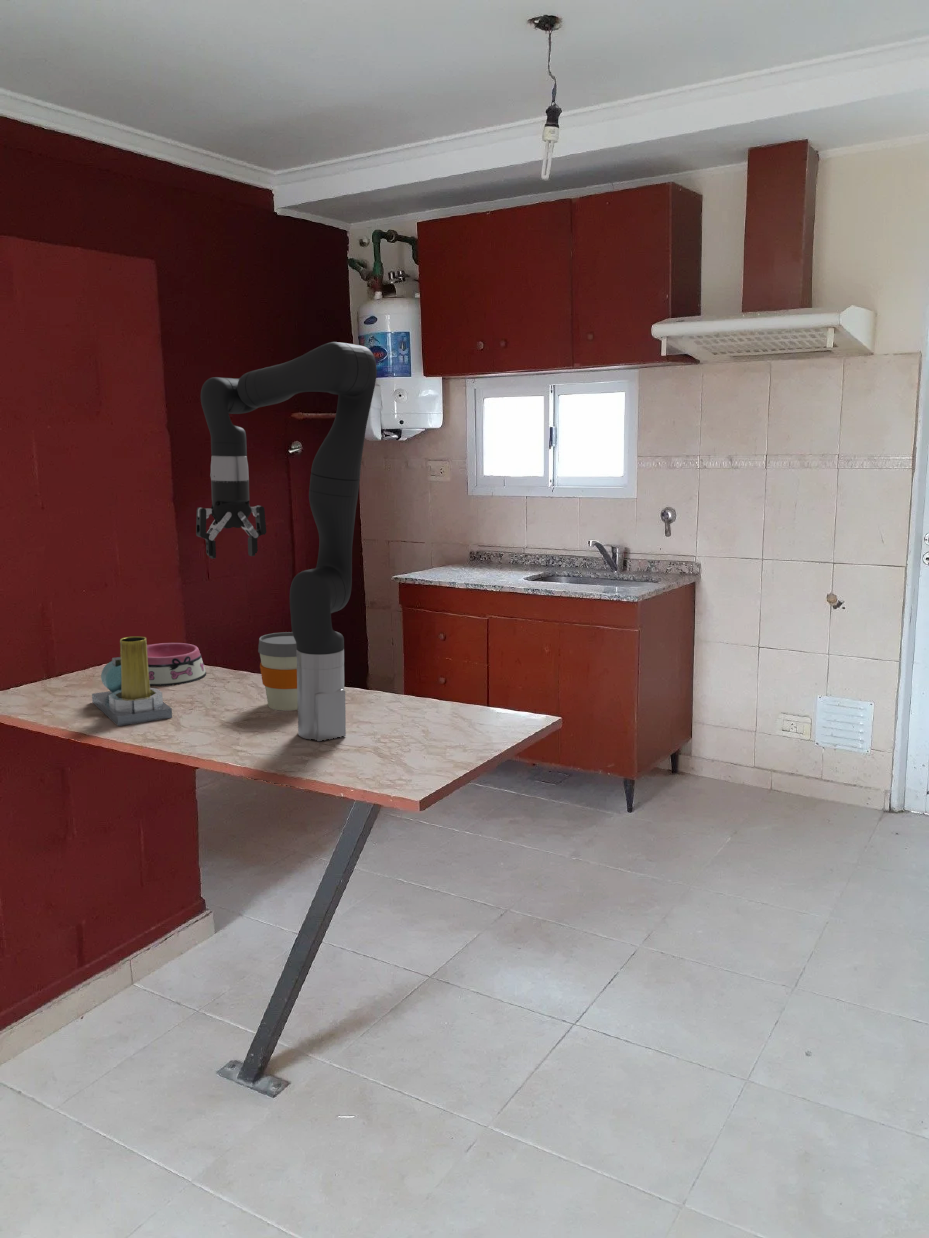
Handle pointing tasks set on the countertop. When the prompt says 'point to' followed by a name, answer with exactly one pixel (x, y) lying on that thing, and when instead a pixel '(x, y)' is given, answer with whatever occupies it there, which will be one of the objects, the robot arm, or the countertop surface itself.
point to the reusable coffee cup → (279, 670)
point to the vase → (134, 668)
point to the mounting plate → (129, 716)
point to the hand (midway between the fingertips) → (232, 557)
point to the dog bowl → (174, 664)
